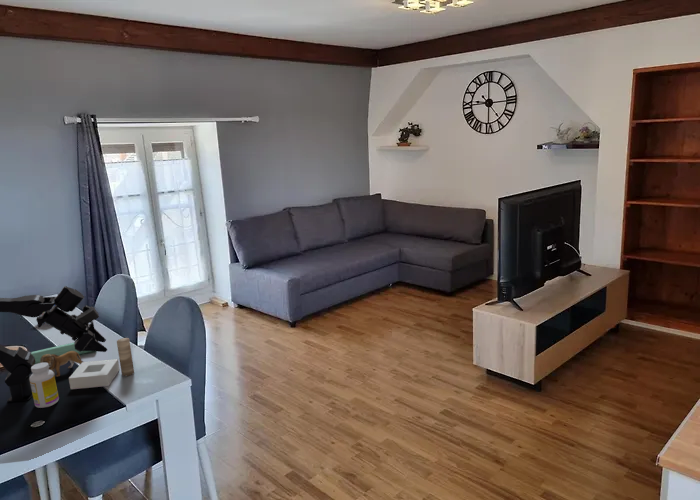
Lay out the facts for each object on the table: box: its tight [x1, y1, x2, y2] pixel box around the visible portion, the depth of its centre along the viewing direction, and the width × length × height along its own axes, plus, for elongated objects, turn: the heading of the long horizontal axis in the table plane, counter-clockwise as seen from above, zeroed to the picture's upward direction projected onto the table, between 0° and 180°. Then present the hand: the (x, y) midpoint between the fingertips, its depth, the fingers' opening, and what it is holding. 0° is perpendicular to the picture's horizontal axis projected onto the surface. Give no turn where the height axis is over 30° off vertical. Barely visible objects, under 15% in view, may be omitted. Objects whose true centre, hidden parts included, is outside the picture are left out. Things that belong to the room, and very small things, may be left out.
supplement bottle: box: [29, 362, 60, 409], centre depth 159 cm, size 7×7×13 cm
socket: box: [68, 358, 121, 390], centre depth 175 cm, size 12×12×4 cm
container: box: [31, 342, 97, 364], centre depth 193 cm, size 6×6×25 cm
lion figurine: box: [40, 351, 84, 378], centre depth 181 cm, size 15×5×9 cm, turn 152°
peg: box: [116, 337, 135, 377], centre depth 177 cm, size 4×4×12 cm
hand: (105, 345), depth 173 cm, fingers open, 9 cm apart
